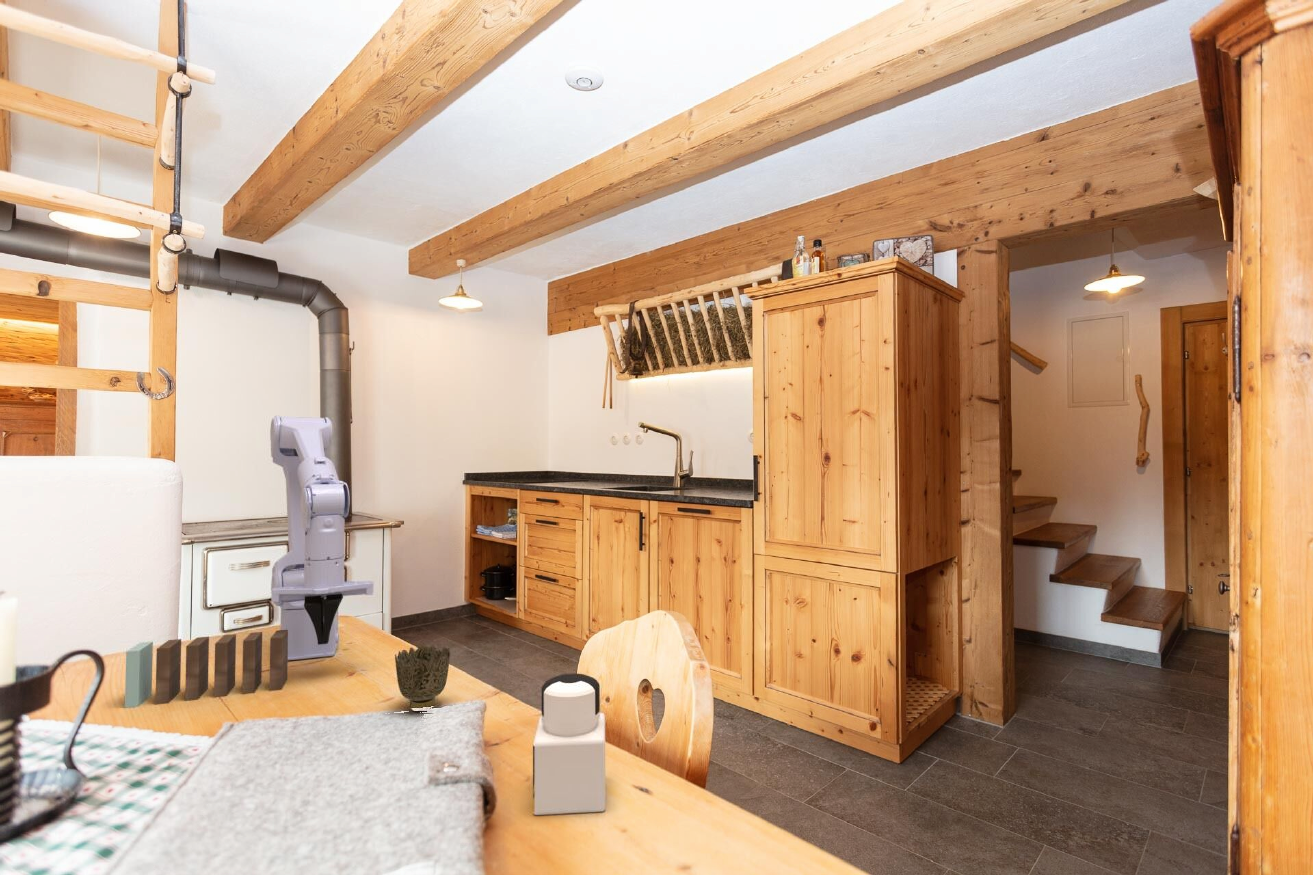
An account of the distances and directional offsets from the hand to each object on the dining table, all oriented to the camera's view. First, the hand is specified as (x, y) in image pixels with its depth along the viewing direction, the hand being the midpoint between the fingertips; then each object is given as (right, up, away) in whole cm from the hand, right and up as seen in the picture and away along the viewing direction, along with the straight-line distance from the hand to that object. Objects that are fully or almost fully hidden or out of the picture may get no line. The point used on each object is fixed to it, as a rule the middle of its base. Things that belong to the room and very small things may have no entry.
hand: (323, 642), depth 103 cm
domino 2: (-19, -6, -8) cm, 21 cm away
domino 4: (-13, -6, -5) cm, 15 cm away
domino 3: (-16, -6, -6) cm, 18 cm away
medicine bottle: (+45, -4, -37) cm, 58 cm away
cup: (+21, -6, -13) cm, 25 cm away
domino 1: (-23, -6, -9) cm, 25 cm away
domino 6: (-6, -6, -2) cm, 9 cm away
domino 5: (-9, -6, -4) cm, 11 cm away
